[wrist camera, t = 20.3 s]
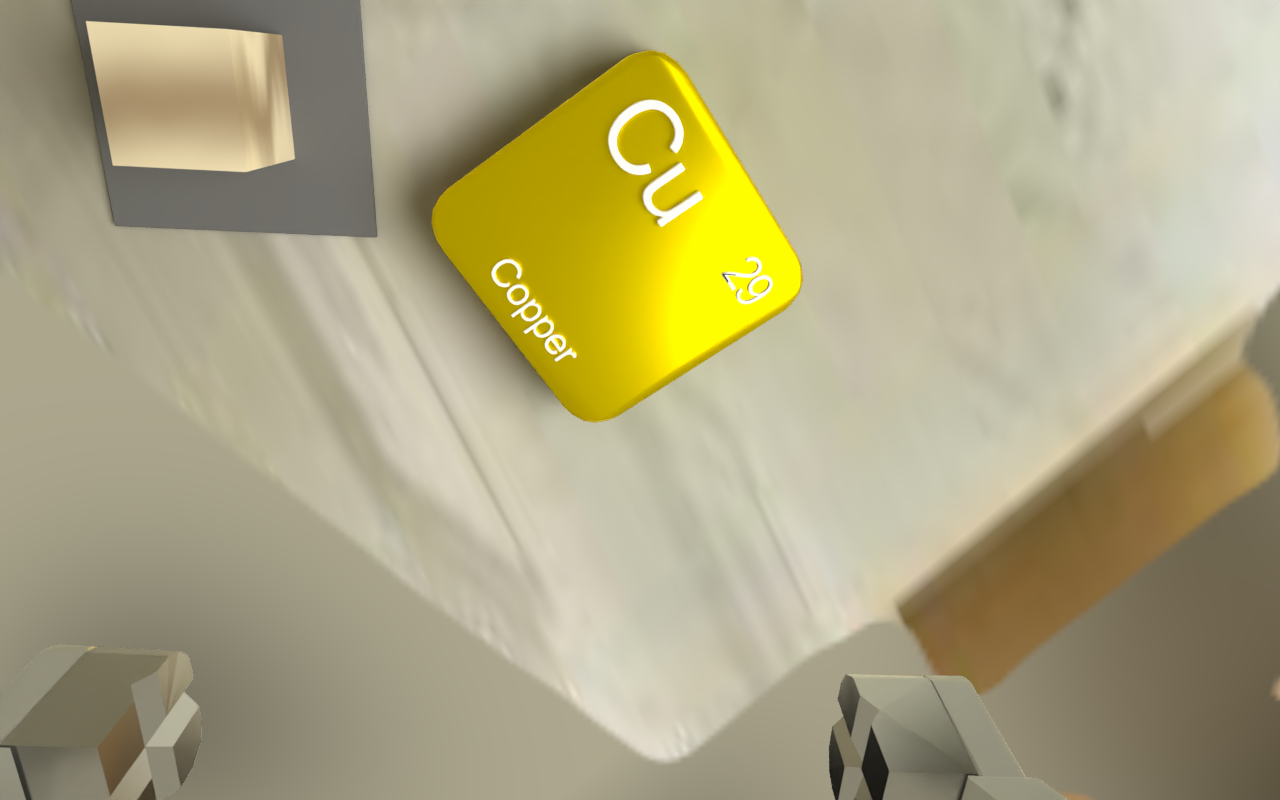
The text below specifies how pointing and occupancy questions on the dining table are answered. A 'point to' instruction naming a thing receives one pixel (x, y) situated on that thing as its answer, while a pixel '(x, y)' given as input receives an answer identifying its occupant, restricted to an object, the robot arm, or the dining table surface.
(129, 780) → the robot arm
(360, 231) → the pad
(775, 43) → the dining table surface
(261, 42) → the light wood cube
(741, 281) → the element tile
